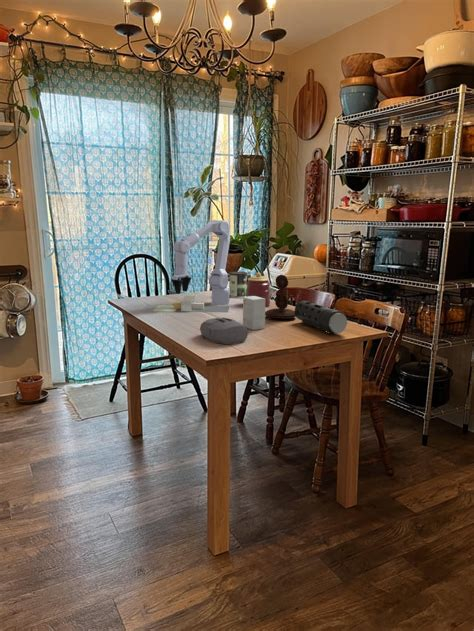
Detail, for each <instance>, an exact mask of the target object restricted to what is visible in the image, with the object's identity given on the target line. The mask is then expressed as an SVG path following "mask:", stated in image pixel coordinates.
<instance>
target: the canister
mask: <svg viewBox="0 0 474 631" xmlns="http://www.w3.org/2000/svg"><path fill="white" fill-rule="evenodd" d="M269 281H270V278H268V277H267V276H266V275H262V274H261V272H256V274H255V275H251V276H249V277H247V283H246V285H247V289H246V297H249V296H257V297H261V298H265V308H267V307H270V306H271V287H270V286H271V282H269Z"/></svg>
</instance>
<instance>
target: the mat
mask: <svg viewBox="0 0 474 631" xmlns="http://www.w3.org/2000/svg"><path fill="white" fill-rule="evenodd" d="M229 309H230V306H229V305H204V309H193V310H192V312H191V313H229V311H230V310H229ZM152 312H168V313H171V312H176V313H177V312H179V313H180V312H181V313H182V312H184V313H186V312H185V311H181V309H174V306H172V304H171V305H170V304H158V305H157V306H156V307H155V308H154V309H153V310H152Z"/></svg>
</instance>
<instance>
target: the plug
mask: <svg viewBox="0 0 474 631" xmlns="http://www.w3.org/2000/svg"><path fill="white" fill-rule="evenodd" d="M171 305H172V306H174V309H181V301H174V302H173V304H171ZM204 306H205V302H195V303H193V309H204Z"/></svg>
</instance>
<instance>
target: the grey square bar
mask: <svg viewBox="0 0 474 631" xmlns="http://www.w3.org/2000/svg"><path fill="white" fill-rule="evenodd" d="M180 302H181V311H185V312H184V313H193V312H192V310H193V303H196V301H195V296H192V295H189V296H187V295H184V296H183V298H182V299H181V301H180Z"/></svg>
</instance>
